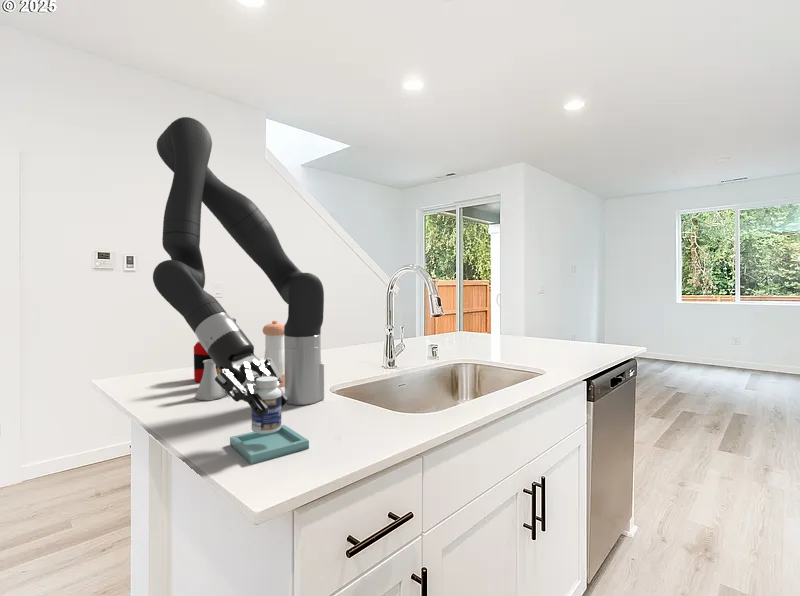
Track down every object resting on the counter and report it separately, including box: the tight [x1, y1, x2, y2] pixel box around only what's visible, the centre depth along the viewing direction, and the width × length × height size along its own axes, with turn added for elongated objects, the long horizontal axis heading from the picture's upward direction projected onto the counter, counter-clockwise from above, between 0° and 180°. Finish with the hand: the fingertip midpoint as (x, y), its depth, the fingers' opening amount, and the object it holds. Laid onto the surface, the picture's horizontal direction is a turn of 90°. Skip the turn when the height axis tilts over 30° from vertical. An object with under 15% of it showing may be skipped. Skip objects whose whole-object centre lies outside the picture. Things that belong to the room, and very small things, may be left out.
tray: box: [229, 424, 310, 465], centre depth 82 cm, size 11×11×2 cm
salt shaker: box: [262, 320, 285, 388], centre depth 128 cm, size 7×7×19 cm
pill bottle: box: [251, 376, 282, 434], centre depth 81 cm, size 5×5×10 cm
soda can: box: [193, 340, 217, 383], centre depth 134 cm, size 8×8×12 cm
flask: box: [194, 359, 227, 401], centre depth 115 cm, size 7×7×10 cm
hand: (274, 408), depth 81 cm, fingers closed on pill bottle, 5 cm apart
